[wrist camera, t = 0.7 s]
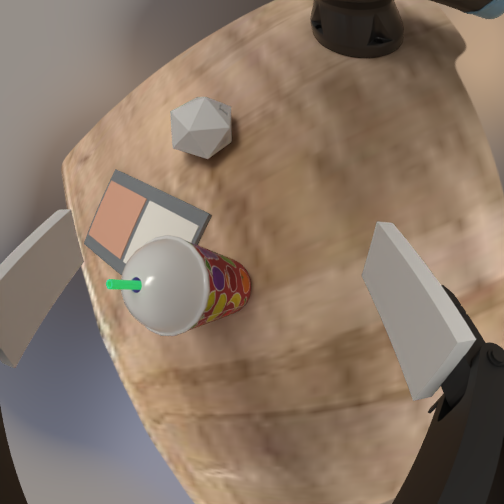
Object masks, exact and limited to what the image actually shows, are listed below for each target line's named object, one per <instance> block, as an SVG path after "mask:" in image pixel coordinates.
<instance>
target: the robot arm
mask: <svg viewBox="0 0 504 504" xmlns="http://www.w3.org/2000/svg"><path fill="white" fill-rule="evenodd" d="M430 1H434V2H437V3H440V4H443V5H446V6H449V7H452V8H455V9H458V10H460V11H462V12H464V13H467V14H473V15H476V16H479V17H482V18H485V19H494V18H497V17H499V16H501V15H502V14H503V13H504V0H430ZM311 26H312V30H313V33H314V36H315V37H316V39H317V40H318V41H319V42H320V43H321V44H322V45H323V46H325V47H327V48H328V49H330V50H332V51H335V52H337V53H340V54H344V55H348V56H353V57H366V58H367V57H378V56H383V55H386V54H389V53H391V52H393V51H395V50H396V49H397V48H398V47H399V46H400V45H401V43H402V40H403V31H404V28H403V23H402V20H401V17H400V15H399V12H398V9H397V7H396V4H395V2H394V0H314V3H313V8H312V13H311ZM83 262H84V260H83V257H82V253H81V249H80V246H79V242H78V238H77V234H76V230H75V225H74V221H73V216H72V212H71V210H58V211H57V212H55V213H54V214H53V215H52V216H51V217H49V218H48V220H46V221H45V222H44V223H43V224H42V225H40V226H39V227H38V228H37V229H36V230H35V231H34V232H33V233H32V234H31V235H30V236H29V237H28V238H26V239H25V240H24V241H23V242H22V243H21V244H20V245H19V246H18V247H17V248H16V249H15V250H14V251H13V252H12V253H11V254H10V255H9V256H8V257H7V258H6V259H5V260H4V261H3V262H2V263H1V264H0V360H1V362H2V363H4V364H6V365H8V366H11V367H13V368H16V366H17V364H18V362H19V360H20V358H21V356H22V355H23V353H24V351H25V349H26V348H27V346H28V344H29V342H30V341H31V339H32V337H33V336H34V334H35V332H36V331H37V329H38V328H39V326H40V324H41V323H42V321H43V320H44V318H45V316H46V315H47V313H48V312H49V310H50V309H51V307H52V306H53V304H54V303H55V301H56V299H57V298H58V297H59V295H60V294H61V292H62V291H63V290H64V288H65V287H66V285H67V284H68V283H69V281H70V280H71V278H72V277H73V275H74V274H75V273H76V272H77V270H78V269H79V267H80V266H81V265H82V264H83ZM362 277H363V280H364V282H365V284H366V286H367V288H368V290H369V292H370V295H371V297H372V299H373V301H374V303H375V306H376V308H377V310H378V312H379V315H380V317H381V319H382V322H383V324H384V326H385V329H386V331H387V333H388V336H389V338H390V341H391V343H392V346H393V348H394V350H395V353H396V356H397V358H398V361H399V363H400V366H401V368H402V371H403V374H404V376H405V379H406V382H407V385H408V387H409V390H410V393H411V396H412V399H413V401H414V400H419V399H423V398H428V397H432V396H433V394H434V393H435V392H436V391H437V390H438V389H439V387H440V386H441V387H442V390H443V392H444V394H443V395H442V396H441V397H440V398H439V399H438V400H437V401H436V403H435V404H434V405H433V406H432V407H431V408H430V409H429V411H428V413H431V412H432V411H433V410H434V409H435V408H436V410H435V413H434V416H433V419H432V421H431V424H430V427H429V429H428V432H427V434H426V437H425V439H424V441H423V444H422V446H421V448H420V451H419V453H418V455H417V457H416V459H415V462H414V464H413V466H412V468H411V470H410V472H409V474H408V476H407V478H406V480H405V482H404V483H403V485H402V487H401V489H400V491H399V493H398V494H397V496H396V498H395V500H394V502H393V503H392V504H504V350H503V348H501V347H500V346H498V345H497V344H494V343H485V341H484V340H483V338H482V336H481V335H480V333H479V332H478V330H477V328H476V327H475V325H474V324H473V322H472V320H471V319H470V317H469V316H468V314H466V311H465V310H464V308H463V307H462V306H461V304H460V302H459V301H458V299H457V298H456V297H455V295H454V294H453V293H452V292H451V291H450V290H448V289H447V288H446V287H445V286H444V285H440V283H439V282H438V280H437V279H436V278H435V276H434V275H433V273H432V272H431V271H430V269H429V268H428V267H427V265H426V264H425V263H424V261H423V260H422V259H421V258H420V256H419V255H418V254H417V252H416V251H415V250H414V249H413V247H412V246H411V245H410V244H409V242H408V241H407V240H406V239H405V237H404V236H403V235H402V234H401V232H400V231H399V230H398V229H397V228H396V226H395V225H394V224H393V223H388V222H378V221H377V223H376V227H375V231H374V235H373V238H372V242H371V245H370V249H369V252H368V256H367V259H366V263H365V266H364V269H363V273H362ZM0 504H28V503H27V501H26V498H25V496H24V493H23V491H22V488H21V485H20V482H19V480H18V476H17V474H16V470H15V467H14V464H13V460H12V457H11V453H10V449H9V446H8V442H7V437H6V433H5V428H4V424H3V418H2V413H1V407H0Z"/></svg>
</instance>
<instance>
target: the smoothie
mask: <svg viewBox="0 0 504 504" xmlns="http://www.w3.org/2000/svg"><path fill="white" fill-rule="evenodd" d="M106 286H107V288H108V289H121V293H122V296H123V300H124V303H125V305H126V307H127V309H128V310H129V312H130V314H131V315H132V316H133V317H134V318H135V319H136V320H137V321H139V322H140V323H141V324H142V325H144V326H145V327H146V328H147V329H148V330H150V331H152V332H154V333H156V334H159V335H161V336H176V335H179V334H181V333H184V332H186V331H188V330H191V329H193V328H196V327H199V326H201V325H204V324H207V323H209V322H212V321H215V320H217V319H220V318H222V317H225V316H228V315H230V314H233V313H235V312H237V311H239V310H240V309H241V308H242V307H243V306H244V305H245V304H246V302H247V300H248V298H249V296H250V291H251V283H250V277H249V275H248V273H247V271H246V269H245V268H244V267H243V266H242V265H241V264H240V263H238V262H237V261H235V260H233V259H230V258H228V257H225V256H223V255H220V254H218V253H215V252H213V251H210V250H208V249H205V248H203V247H200V246H198V245H195V244H193V243H191V242H188V241H186V240H184V239H182V238H180V237H175V236H171V235H165V236H160V237H155V238H154V239H152V240H150V241H149V242H147V243H146V244H144V245H143V246H142V247H141V248H139V249H138V250H136V251H135V253H134V254H133V255H132V256H131V257H130V258H129V260H128V261H127V263H126V265H125V267H124V270H123V273H122V278H121V280H115V279H109V280H107V282H106Z"/></svg>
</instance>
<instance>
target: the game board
mask: <svg viewBox="0 0 504 504" xmlns="http://www.w3.org/2000/svg"><path fill="white" fill-rule="evenodd" d="M211 216H212V215H211V214H209V213H207V212H205V211H202V210H200V209H198V208H196V207H194V206H192V205H190V204H188V203H186V202H184V201H182V200H180V199H178V198H175V197H173V196H171V195H169V194H167V193H165V192H163V191H161V190H159V189H157V188H154V187H152V186H150V185H148V184H146V183H144V182H142V181H140V180H138V179H135V178H133V177H131V176H129V175H127V174H125V173H123V172H120V171H118V170H116V169H115V172H114V174H113V176H112V178H111V180H110V182H109V184H108V186H107V189H106V191H105V193H104V195H103V197H102V200H101V202H100V204H99V207H98V209H97V211H96V214H95V216H94V219H93V221H92V224H91V226H90V229H89V231H88V234H87V237H86V239H85V242H84V244H85V245H86V246H87V247H88V248H90V249H91V250H92V251H93V252H94V253H95V254H97V255H98V256H99V257H100V258H101V259H103V260H104V261H105V262H106V263H107V264H109V265H110V266H111V267H112V268H113V269H115V270H116V271H117V272H118V273H120V274H121V275H122V273H123V270H124V267H125V265H126V263H127V261H128V260H129V258H130V257H131V256H132V255H133V254H134V253H135V251H136V250H138V249H139V248H141V247H142V246H143V245H144V244H146V243H147V242H149V241H150V240H152V239H154V238H155V237H160V236H165V235H171V236H175V237H180V238H182V239H184V240H186V241H188V242H191V243H193V244H195V245H198V243H199V241H200V239H201V236H202V234H203V232H204V230H205V228H206V226H207V224H208V222H209V220H210V218H211Z"/></svg>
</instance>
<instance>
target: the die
mask: <svg viewBox="0 0 504 504" xmlns="http://www.w3.org/2000/svg"><path fill="white" fill-rule="evenodd" d="M170 112H171V130H172V144H173V149H177V150H180V151H183V152H187V153H190V154H193V155H196V156H200V157H203V158H206V159H209V158H210V157H211V156H213V155H214V154H215V153H217V152H218V151H220V150H221V149H222V148H224V147H225V146H227V145H228V144H229V143H231V142H232V131H231V106H228V105H226V104H223V103H221V102H218V101H216V100H213V99H210V98H208V97H197V98H195V99H193V100H191V101H189V102H187V103H185V104H183V105H181V106H179V107H178V108H176V109H174V110H172V111H170Z"/></svg>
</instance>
